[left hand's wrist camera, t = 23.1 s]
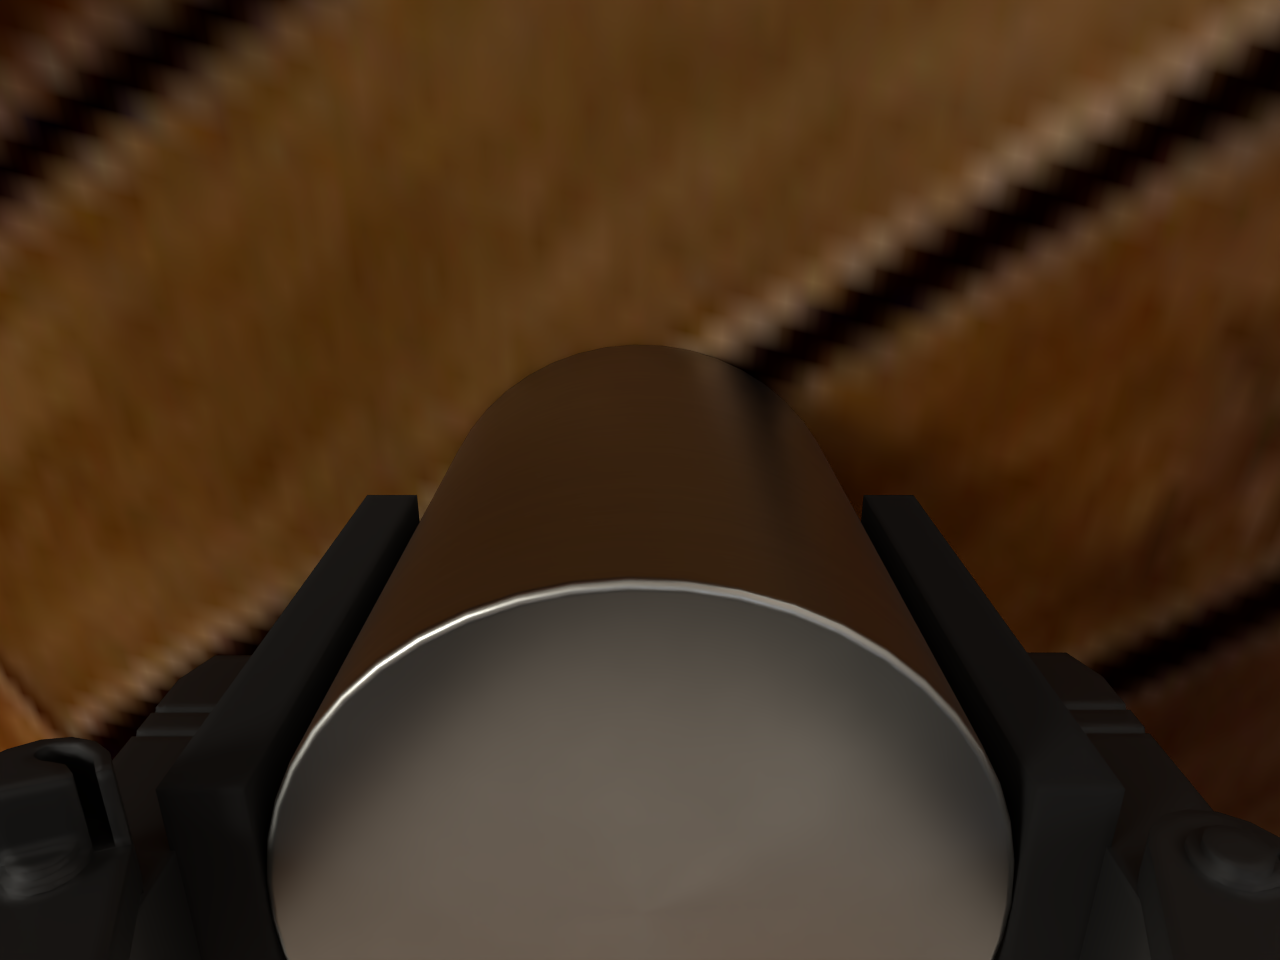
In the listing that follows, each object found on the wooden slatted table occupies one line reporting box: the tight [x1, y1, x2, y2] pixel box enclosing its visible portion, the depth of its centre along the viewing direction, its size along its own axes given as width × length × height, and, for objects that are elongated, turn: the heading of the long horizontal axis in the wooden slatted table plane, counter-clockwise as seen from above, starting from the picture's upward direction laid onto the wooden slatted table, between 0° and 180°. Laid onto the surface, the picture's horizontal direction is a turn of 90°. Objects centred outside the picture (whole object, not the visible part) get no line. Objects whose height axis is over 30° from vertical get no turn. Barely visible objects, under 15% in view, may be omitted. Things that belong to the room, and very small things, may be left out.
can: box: [267, 345, 1015, 960], centre depth 12 cm, size 7×7×8 cm
